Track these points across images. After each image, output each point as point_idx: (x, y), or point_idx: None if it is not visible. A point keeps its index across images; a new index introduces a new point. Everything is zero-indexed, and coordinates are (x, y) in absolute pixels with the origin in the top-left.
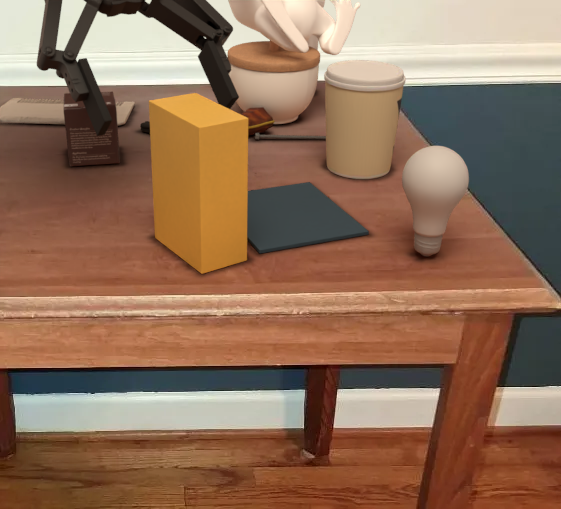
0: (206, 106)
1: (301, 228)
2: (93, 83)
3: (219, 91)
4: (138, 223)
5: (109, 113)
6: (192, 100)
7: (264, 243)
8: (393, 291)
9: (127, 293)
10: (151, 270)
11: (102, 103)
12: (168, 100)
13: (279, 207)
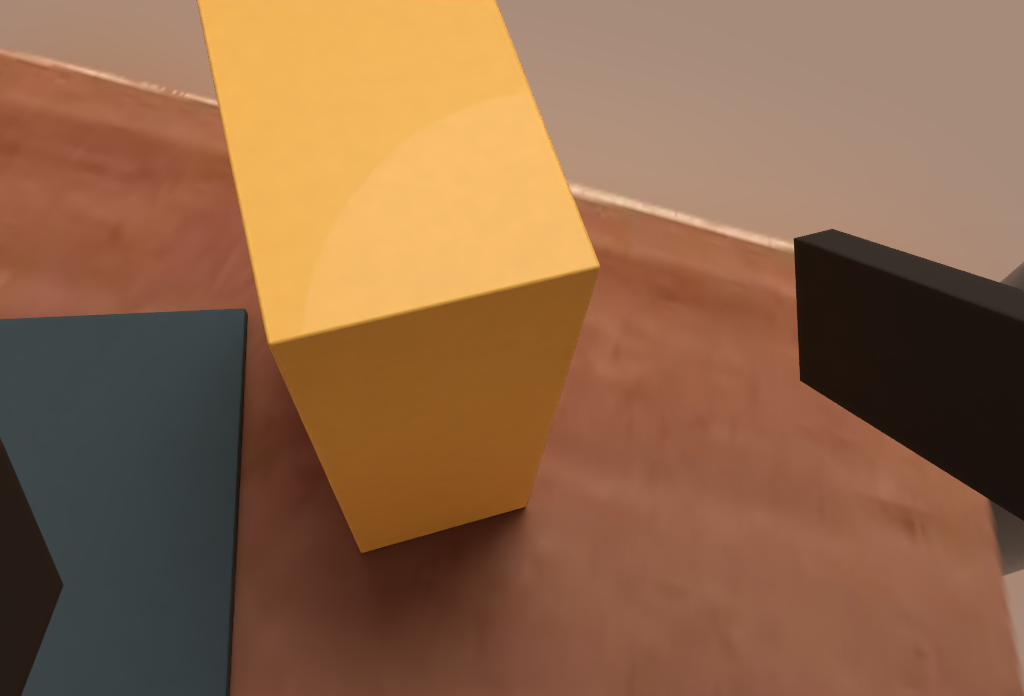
0: (307, 91)
1: (38, 406)
2: (979, 290)
3: (7, 593)
4: (560, 643)
5: (818, 245)
6: (344, 206)
7: (210, 341)
8: (25, 57)
9: (651, 223)
10: None
11: (873, 259)
12: (484, 240)
13: None
